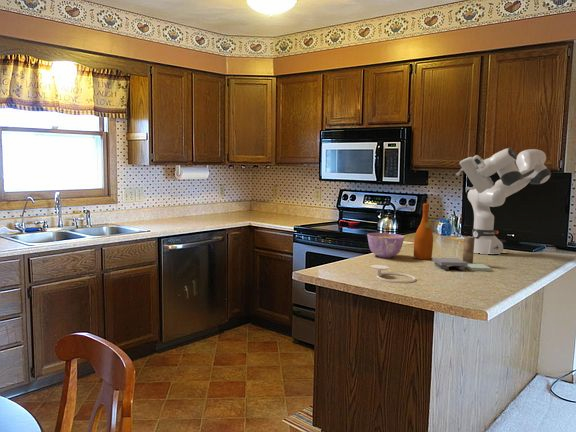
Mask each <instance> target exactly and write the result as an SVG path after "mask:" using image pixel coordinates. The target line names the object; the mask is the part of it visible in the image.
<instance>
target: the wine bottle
mask: <svg viewBox="0 0 576 432" xmlns="http://www.w3.org/2000/svg"><path fill="white" fill-rule="evenodd" d="M429 209H430V204H429V203H428V202H425V203H423V204H422V218H421V221H420V224H419V226H418V228H417V229H416V232H415V234H414V240H413V257H414V259H417V260H421V261H422V260H425V261H428V260H431V259H433V248H434V247H433V246H434V235H433V231H432V228H431V222H430V220H429V212H430V210H429Z"/></svg>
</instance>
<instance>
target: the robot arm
mask: <svg viewBox="0 0 576 432" xmlns="http://www.w3.org/2000/svg"><path fill="white" fill-rule="evenodd" d="M546 161H547V155H546V153H545V151H543V150H540V149H536V148H533V149H532V148H531V149H530V148H529V149H524V150H522V151H520V152H519V153H518V154H516V152H515V151H514V150H513V149H512V148H510V147H508V148H504V149H502V150H500V151H498V152H495V153H494V154H493V155H491V156H490V157H489V158H485V159H483V158H482V157H481V156H479V155H478V154H476V155H474V156H469V157H467V158H464V159H461V160H460V161H459V165H460V167H461V168H460V169H459V171H458V172H456V174H455V175H456V176H457V177H459V176H460V175H461V172H464V173H465V174H466V176H467V178H468V179H469V181H470V183H471V184H472V185H473V186H472V187H470V186H467V187H465V191H468V192H467V199H468V201H469V203H470V204H471V206H472V210H473V228H472V233H471V234H472V237H473V238H475V241H474V254H478V253H480V254H479V255H488V254H498V253H503V251H504V244H503V241H501V240H500V239H499V238H498V237H497V236H496V235H498V234H499V230H496V229H495V230H494V225H495V215H494V214H493V213H492V212H491V207H492V208H495V207H500V206H502V205H504V203H505V202H506V198H508V197H509V196H511V195H513V194H516V193H518V192H519V191H520V190H522V189H523V188H526V186H527V185H528V184H530V185H542V184H544V183H546V182H547V181H548V180H549V179H550V178H551V176H552V173H551V170H550V169H549V168H548V167H547V166H546V165H545V163H546ZM495 174H498V176H499V179H498V180H496V181H495V182H494V181H493V180H492V178H491V176H492V175H495Z"/></svg>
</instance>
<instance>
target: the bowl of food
mask: <svg viewBox="0 0 576 432" xmlns="http://www.w3.org/2000/svg"><path fill="white" fill-rule="evenodd" d="M366 236H367V241H368V247H369V249H370V252H371V253H372V254H374V256H375V255H376V257H379V258H386V259H390V258H393V257H394V256H395V257H396V255H398V254H399V253H400V252H401V250H402V247H403V244H404V241H405V236H404V235H402V234H395V233H388V232H387V233H386V232H370V233H367V234H366Z"/></svg>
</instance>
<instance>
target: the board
mask: <svg viewBox="0 0 576 432" xmlns="http://www.w3.org/2000/svg"><path fill="white" fill-rule="evenodd" d="M464 267H465V269H467V270H469V271H471V272H472V271H473V272H474V271H475V272H492V269H493V268H492V267H489V266H488V265H487V264H483V263H473V264H468V266H464Z"/></svg>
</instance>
